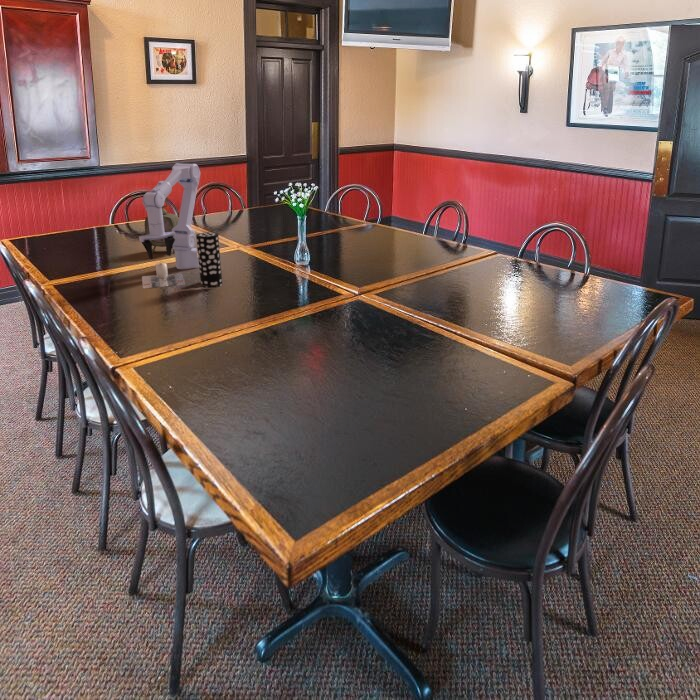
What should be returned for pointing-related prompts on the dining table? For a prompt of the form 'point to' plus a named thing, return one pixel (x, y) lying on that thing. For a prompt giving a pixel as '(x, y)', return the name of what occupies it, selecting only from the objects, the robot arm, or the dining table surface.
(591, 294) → the dining table surface
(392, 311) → the dining table surface
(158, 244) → the tabletop clock
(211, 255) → the white-spotted black cylinder
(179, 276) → the hub plate
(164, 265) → the knob
